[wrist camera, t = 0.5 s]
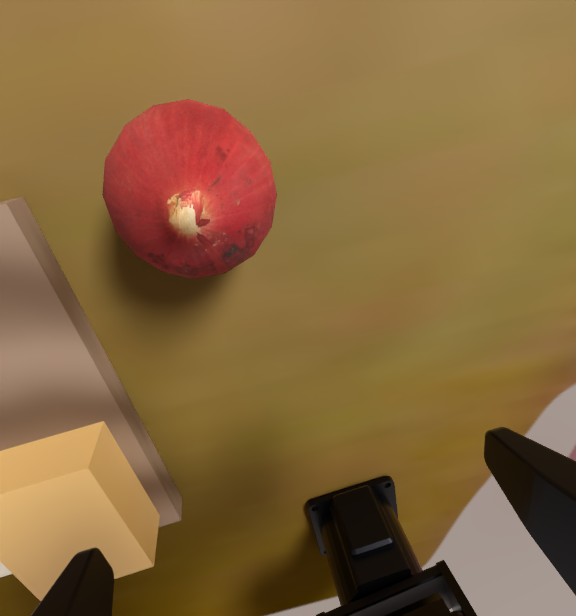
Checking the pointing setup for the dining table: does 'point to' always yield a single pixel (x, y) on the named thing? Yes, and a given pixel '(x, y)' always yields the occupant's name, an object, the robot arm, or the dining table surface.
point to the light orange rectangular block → (72, 507)
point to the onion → (189, 189)
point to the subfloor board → (61, 362)
